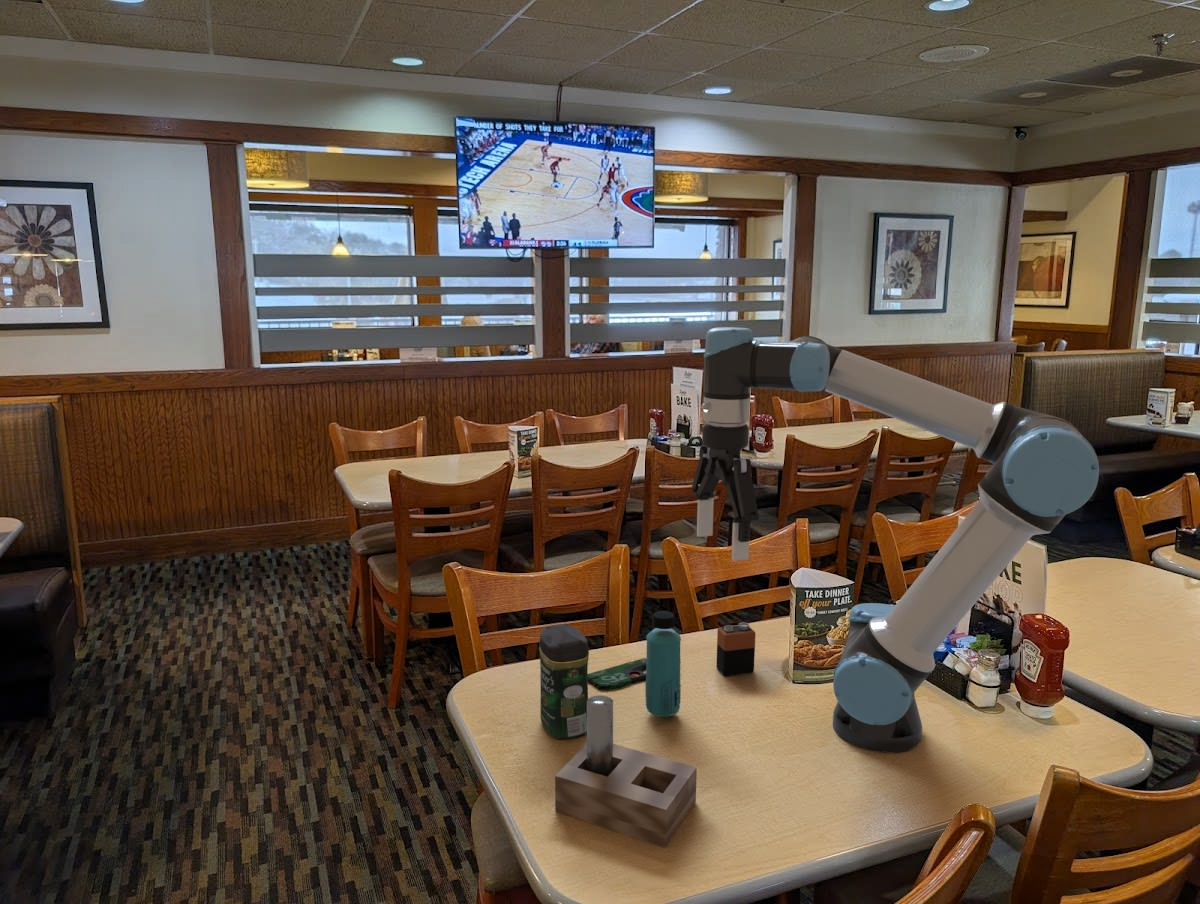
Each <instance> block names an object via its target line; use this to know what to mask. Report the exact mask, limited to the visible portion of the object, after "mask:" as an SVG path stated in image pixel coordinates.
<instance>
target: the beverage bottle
mask: <svg viewBox="0 0 1200 904" xmlns="http://www.w3.org/2000/svg"><path fill="white" fill-rule="evenodd" d="M651 626H652V627H653V629H652V630H651V631H649V633H647V635H646V639H645V640H646V659H647V663H646V667H645V668H646V670H645V672H644V673H646V681H645V690H644V692H645V696H644V699H645V707H646V710H647V712H649V714H651V715H653V716H657V717H671V716H674V715H676V714H677V713H679V712H680V708H681V693H682V692H681V687H682V684H681V676H682V673H681V640H682V638H681V635H680V634H679V633H678V632H677V631H676V630H675V629H674V628H675V626H676V620H675V614H674V613H673V612H671V611H667V610H658V611H655V612H654V613H653V614H652V621H651Z"/></svg>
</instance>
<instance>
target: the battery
mask: <svg viewBox="0 0 1200 904" xmlns="http://www.w3.org/2000/svg"><path fill="white" fill-rule="evenodd" d="M716 634H717V639H716V640H717V641H716V668H717V670H718V671H719V672H720V673H721V674H722V675H723V676H724V677H730V676H737V675H744V674H752V673H755V655H756V650H755V649H756V631H755V630H754V629H753V628H752V627H750V624H749V623H748V622H739V623H738V624H737V625H729V624H728V625H727V624H726V625H724V626H719V627H717V633H716Z"/></svg>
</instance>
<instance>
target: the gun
mask: <svg viewBox="0 0 1200 904" xmlns="http://www.w3.org/2000/svg"><path fill="white" fill-rule="evenodd" d="M646 663H647V657H642V658H639V659H635V660H633V661H629V662H625V663H622V664H618V665H614V666H612V667H611V666H610V667H607V668H604V669H600V670H597V671H593V672H590V673H588V682H589V683H588V684H591V685H593V687H595V688H597V689H598V690H600V689H602V688H603V689H605V690H607V691H608V690H611V691H612V690H613V691H614V690H617V688H618V690H620V689H623V688H625V687H627V686H630V684H631V685H634V684H638V683H641V682H646V673H645V672H644V671H646V668H645V667H646ZM596 686H597V687H596ZM622 687H623V688H622Z"/></svg>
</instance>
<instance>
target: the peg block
mask: <svg viewBox="0 0 1200 904" xmlns="http://www.w3.org/2000/svg"><path fill="white" fill-rule="evenodd" d="M697 769H698V768H697V766H694V765H691V764H688V763H687V764H686V763H684V762H680V761H677V760H672V759H669V758H665V757H662V756H660V755H659V756H658V755H654V754H651V753H647V752H644V751H640V750H637V749H633V748H629V747H625V746H623V745H618V744H615V743H613V771H612V772H611V774H610V775H609V776H608V777H607V776H603V775H600V774H597V773H593V772H590V771H587V743H586V744H585V745H584V746H583V747H581V749H580V750H579V751H578V752H577V753H575V755H574V756H573V757H572V758H571V759H570V760H569V761H568V762H567V763H566V764H565V765H564V766H563V767H562V768H561V769H560V770H559V771H558V772H556V774H555V775H554V794H555V795H554V797H555V798H554V800H555V801H554V805H555V806H554V807H555V808H554V810H555V811H554V812H556V813H559V814H561V815H565V816H567V817H571V818H573V819H577V820H579V821H583V822H586V823H589V824H591V825H595V826H598V827H601V828H604V829H607V830H610V831H613V832H616V833H619V834H621V835H622V834H623V835H624V836H628V837H631V838H635V839H637V840H640V841H643V842H648V843H649V844H652V845H655V846H659V847H662V848H664V849H665V848H666V847H667V846H668V844H670V842H671V840H672V838H673V837H674V836H675V834H676V832H677V831H678V830H679V829H680V827H681V825H682V823H683V822H684V821H685V819H686V817H687V816H688V815H689V813H690V812H691V811H692V809H693V807H694V806H695V804H696V802H697V801H696V800H697V777H698V776H697V771H698V770H697Z"/></svg>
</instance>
